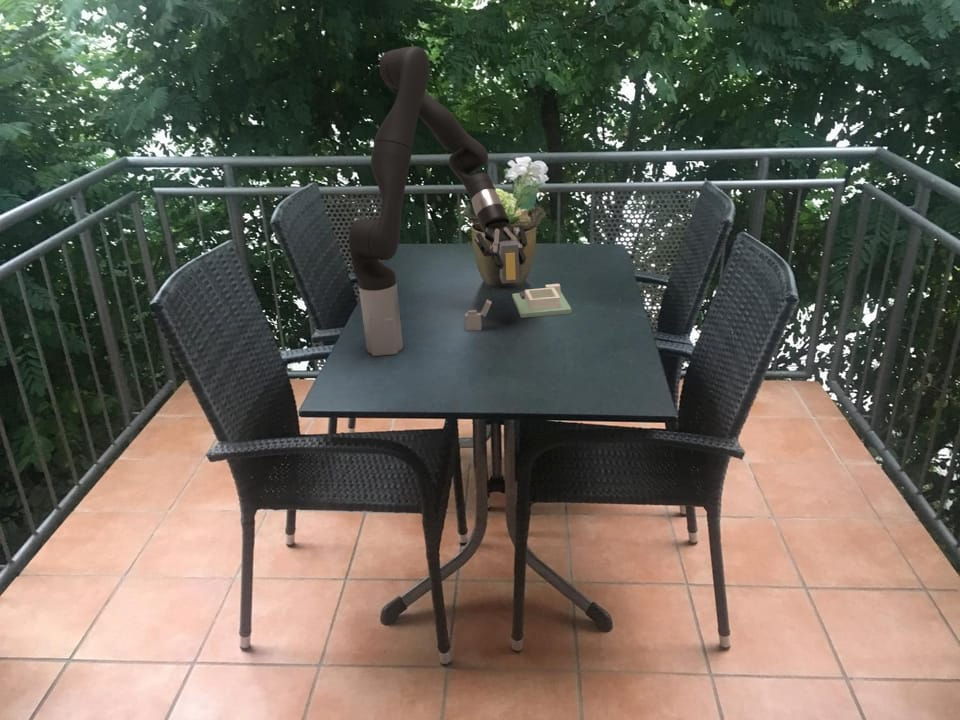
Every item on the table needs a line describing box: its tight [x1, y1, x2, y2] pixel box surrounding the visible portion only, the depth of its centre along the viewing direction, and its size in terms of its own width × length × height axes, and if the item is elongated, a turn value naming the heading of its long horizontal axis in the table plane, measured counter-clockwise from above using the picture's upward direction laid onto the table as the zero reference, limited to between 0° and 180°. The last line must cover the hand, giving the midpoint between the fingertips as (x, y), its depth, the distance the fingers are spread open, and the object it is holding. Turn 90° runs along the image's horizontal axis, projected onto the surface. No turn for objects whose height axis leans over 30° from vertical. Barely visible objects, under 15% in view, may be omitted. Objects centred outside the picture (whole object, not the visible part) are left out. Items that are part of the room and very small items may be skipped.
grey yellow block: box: [498, 240, 520, 285], centre depth 200 cm, size 5×4×10 cm
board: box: [511, 283, 573, 319], centre depth 217 cm, size 16×14×4 cm
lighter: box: [464, 299, 493, 332], centre depth 203 cm, size 7×2×8 cm, turn 88°
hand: (512, 265), depth 199 cm, fingers closed on grey yellow block, 5 cm apart
